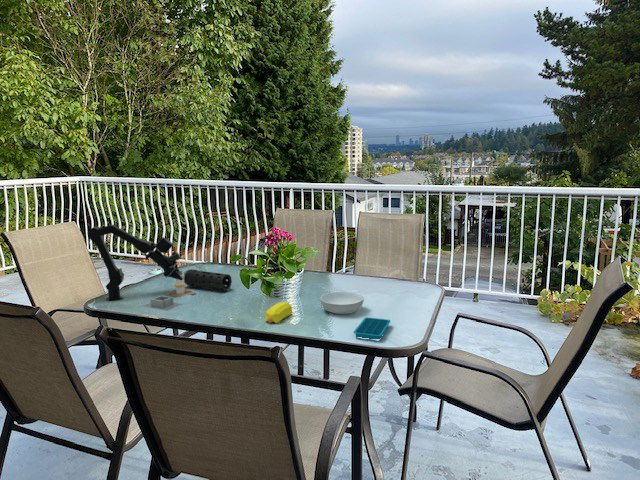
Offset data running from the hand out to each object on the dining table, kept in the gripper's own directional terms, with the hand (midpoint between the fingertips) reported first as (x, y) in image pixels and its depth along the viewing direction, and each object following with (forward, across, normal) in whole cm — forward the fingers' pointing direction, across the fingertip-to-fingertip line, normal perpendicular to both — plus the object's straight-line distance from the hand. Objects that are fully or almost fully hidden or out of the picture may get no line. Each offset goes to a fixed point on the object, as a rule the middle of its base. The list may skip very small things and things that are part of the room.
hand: (182, 278), depth 251 cm
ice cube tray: (+64, -77, -51) cm, 112 cm away
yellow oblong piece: (+39, -50, -25) cm, 68 cm away
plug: (+5, 0, +7) cm, 8 cm away
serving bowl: (+60, -47, -47) cm, 90 cm away
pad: (+5, 0, +7) cm, 9 cm away
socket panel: (0, -21, +13) cm, 24 cm away
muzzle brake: (+16, +8, -2) cm, 18 cm away
